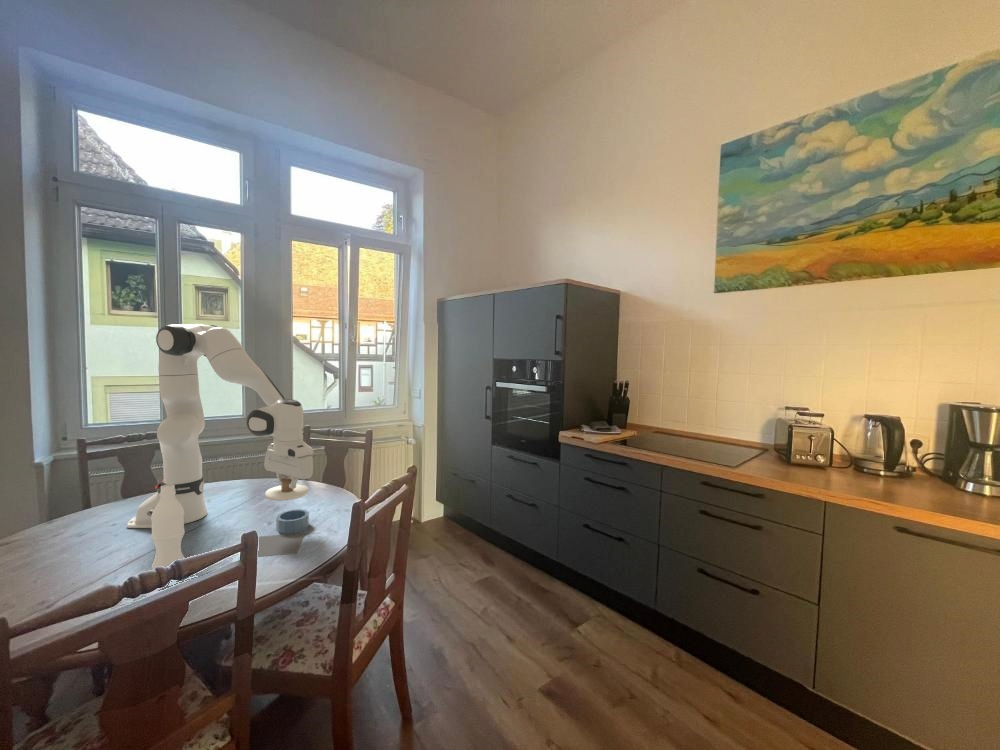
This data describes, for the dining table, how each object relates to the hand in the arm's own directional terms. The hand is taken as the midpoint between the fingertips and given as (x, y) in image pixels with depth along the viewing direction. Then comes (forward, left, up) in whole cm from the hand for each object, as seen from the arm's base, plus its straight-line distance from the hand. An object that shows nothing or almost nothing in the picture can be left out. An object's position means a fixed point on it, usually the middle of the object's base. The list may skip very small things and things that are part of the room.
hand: (287, 486), depth 137 cm
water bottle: (-26, -19, -17) cm, 36 cm away
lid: (0, 0, -2) cm, 2 cm away
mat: (-1, -9, -17) cm, 19 cm away
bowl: (+1, +4, -17) cm, 17 cm away
